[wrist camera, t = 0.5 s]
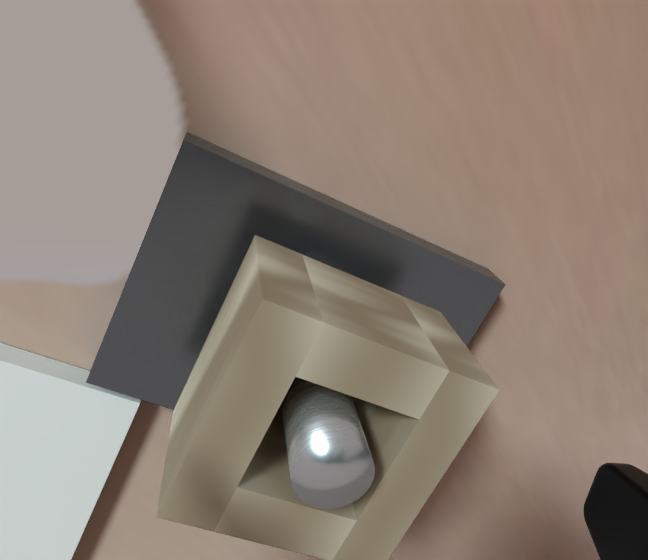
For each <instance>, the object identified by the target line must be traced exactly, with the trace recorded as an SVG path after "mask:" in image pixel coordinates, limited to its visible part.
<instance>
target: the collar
mask: <svg viewBox="0 0 648 560" xmlns="http://www.w3.org/2000/svg"><path fill="white" fill-rule="evenodd" d="M295 377H298V378H301V379H304V380H307V381H309V382H312V383H315V384H318V385H321V386H324V387H327V388H330V389H333V390H335V391H338V392H341V393H344V394H347V395H350V396H352V399H353V402H354V405H355V408H356V411H357V414H358V417H359V420H360V423H361V426H362V429H363V432H364V435H365V438H366V441H367V444H368V447H369V450H370V453H371V456H372V459H373V462H374V466H375V475H374V479H373V482H372V484H371V486H370V487H369V489H368V490H367V491H366V493H365V494H364V495H363V496H361V497H360V498H359V499H358V500H356V501H354V502H353V503H351V504H348V505H346V506H343V507H339V508H333V509H322V508H316V507H313V506H310V505H308V504H306V503H304V502H303V501H302V500H300V499H299V498H298V497H297V495H296V494H295V492H294V491H293V488H292V485H291V478H290V471H289V463H288V456H287V448H286V440H285V433H284V425H283V418H282V410H281V403H282V401H283V399H284V398H285V396H286V394H287V392H288V390H289V388H290V386H291V384H292V382H293V380H294V379H295ZM498 391H499V388H498V387H497V386H496V385H495V383H494V382H493V381H492V379H491V378H490V377H489V375H488V374H487V373H486V371H485V370H484V369H483V367H482V366H481V365H480V363H479V362H478V361H477V359H476V358H475V357H474V356H473V354H472V353H471V352H470V350H469V349H468V348H467V346H466V345H465V344H464V342H463V341H462V340H461V338H460V337H459V336H458V334H457V333H456V332H455V330H454V329H453V328H452V326H451V325H450V324H449V323H448V321H447V320H446V319H445V317H444V316H443V315H442V313H441V312H439V311H437V310H435V309H432V308H430V307H427V306H425V305H423V304H420V303H418V302H415V301H413V300H411V299H408V298H406V297H403V296H401V295H399V294H396V293H394V292H391V291H389V290H387V289H384V288H382V287H379V286H377V285H375V284H372V283H370V282H367V281H365V280H363V279H360V278H358V277H355V276H353V275H351V274H348V273H346V272H343V271H341V270H339V269H336V268H334V267H331V266H329V265H326V264H324V263H322V262H319V261H317V260H314V259H312V258H310V257H307V256H305V255H302V254H300V253H298V252H295V251H293V250H290V249H288V248H286V247H283V246H281V245H278V244H276V243H274V242H271V241H269V240H266V239H264V238H262V237H259V236H257V235H255V236H254V238H253V240H252V243H251V245H250V247H249V249H248V251H247V253H246V255H245V258H244V260H243V262H242V264H241V266H240V268H239V271H238V273H237V275H236V277H235V279H234V281H233V283H232V286H231V288H230V290H229V292H228V294H227V296H226V299H225V301H224V303H223V305H222V307H221V309H220V311H219V314H218V316H217V318H216V320H215V322H214V324H213V327H212V329H211V331H210V333H209V335H208V337H207V339H206V342H205V344H204V346H203V348H202V350H201V352H200V355H199V357H198V359H197V361H196V363H195V365H194V367H193V370H192V372H191V374H190V376H189V378H188V380H187V383H186V385H185V387H184V389H183V391H182V393H181V395H180V398H179V400H178V402H177V404H176V406H175V408H174V411H173V416H172V422H171V429H170V435H169V441H168V448H167V454H166V460H165V467H164V473H163V479H162V486H161V492H160V499H159V505H158V511H157V517H158V518H162V519H166V520H170V521H174V522H177V523H181V524H185V525H189V526H193V527H197V528H201V529H205V530H209V531H213V532H217V533H221V534H225V535H229V536H233V537H237V538H241V539H245V540H249V541H253V542H257V543H261V544H265V545H269V546H273V547H277V548H281V549H285V550H289V551H293V552H297V553H301V554H305V555H309V556H313V557H317V558H321V559H325V560H388V559H389V557H390V556H391V554H392V553H393V551H394V550H395V548H396V547H397V545H398V544H399V542H400V541H401V539H402V538H403V536H404V535H405V533H406V531H407V530H408V528H409V527H410V525H411V524H412V522H413V521H414V519H415V518H416V516H417V515H418V513H419V512H420V510H421V509H422V507H423V506H424V504H425V503H426V501H427V499H428V498H429V496H430V495H431V493H432V492H433V490H434V489H435V487H436V486H437V484H438V483H439V481H440V480H441V478H442V477H443V475H444V474H445V472H446V471H447V469H448V468H449V466H450V464H451V463H452V461H453V460H454V458H455V457H456V455H457V454H458V452H459V451H460V449H461V448H462V446H463V445H464V443H465V442H466V440H467V439H468V437H469V436H470V434H471V432H472V431H473V429H474V428H475V426H476V425H477V423H478V422H479V420H480V419H481V417H482V416H483V414H484V413H485V411H486V410H487V408H488V407H489V405H490V404H491V402H492V401H493V399H494V397H495V396H496V394H497V393H498Z"/></svg>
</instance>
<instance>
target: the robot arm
mask: <svg viewBox="0 0 648 560" xmlns="http://www.w3.org/2000/svg"><path fill="white" fill-rule="evenodd" d="M584 518H585V522H586V524H587V527H588V529H589V532H590V534H591V537H592V539H593V542H594V544H595V547H596V549H597V552H598V554H599V556H600V559H601V560H648V474H647V473H645V472H643V471H641V470H640V469H638V468H636V467H634V466H632V465H629V464H621V463H605V464H603V465H602V466H601V467H600V468H599V469H598V471H597V473H596V476H595V478H594V481H593V483H592V486H591V488H590V491H589V493H588V496H587V498H586V501H585V504H584Z"/></svg>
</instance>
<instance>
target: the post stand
mask: <svg viewBox="0 0 648 560" xmlns="http://www.w3.org/2000/svg"><path fill="white" fill-rule="evenodd" d="M255 235H257V236H259V237H262V238H264V239H266V240H269V241H271V242H274V243H276V244H278V245H281V246H283V247H286V248H288V249H290V250H293V251H295V252H298V253H300V254H302V255H305V256H307V257H310V258H312V259H314V260H317V261H319V262H322V263H324V264H326V265H329V266H331V267H334V268H336V269H339V270H341V271H343V272H346V273H348V274H351V275H353V276H355V277H358V278H360V279H363V280H365V281H367V282H370V283H372V284H375V285H377V286H379V287H382V288H384V289H387V290H389V291H391V292H394V293H396V294H399V295H401V296H403V297H406V298H408V299H411V300H413V301H415V302H418V303H420V304H423V305H425V306H427V307H430V308H432V309H435V310H437V311H439V312H441V313H442V315H443V316H444V317H445V319H446V320H447V321H448V323H449V324H450V325H451V326H452V328H453V329H454V330H455V332H456V333H457V334H458V336H459V337H460V338H461V340H462V341H463V342H464V344H465V345H466V346H468V344H469V342H470V341H471V339H472V337H473V336H474V334H475V333H476V331H477V329H478V328H479V326H480V325H481V323H482V321H483V320H484V318H485V317H486V315H487V313H488V312H489V310H490V308H491V307H492V305H493V304H494V302H495V300H496V299H497V297H498V296H499V294H500V292H501V291H502V289H503V288H504V286H505V284H504V283H503V282H502V281H501V280H500V279H499V278H498V277H497V276H496V275H494V274H493V273H492V272H491V271H490V270H489V269H487V268H485V267H483V266H480V265H478V264H476V263H474V262H472V261H469V260H467V259H465V258H463V257H461V256H458V255H456V254H454V253H452V252H450V251H447V250H445V249H443V248H441V247H439V246H436V245H434V244H432V243H430V242H428V241H425V240H423V239H421V238H419V237H417V236H414V235H412V234H410V233H408V232H406V231H403V230H401V229H399V228H397V227H395V226H392V225H390V224H388V223H386V222H384V221H381V220H379V219H377V218H375V217H373V216H370V215H368V214H366V213H364V212H362V211H359V210H357V209H355V208H353V207H351V206H348V205H346V204H344V203H342V202H340V201H337V200H335V199H333V198H331V197H329V196H326V195H324V194H322V193H320V192H318V191H315V190H313V189H311V188H309V187H307V186H304V185H302V184H300V183H298V182H296V181H293V180H291V179H289V178H287V177H285V176H282V175H280V174H278V173H276V172H274V171H271V170H269V169H267V168H265V167H263V166H260V165H258V164H256V163H254V162H251V161H249V160H247V159H245V158H243V157H240V156H238V155H236V154H234V153H232V152H229V151H227V150H225V149H223V148H221V147H218V146H216V145H214V144H212V143H210V142H207V141H205V140H203V139H201V138H199V137H196V136H194V135H192V134H190V133H188V132H187V134H186V136H185V138H184V140H183V143H182V145H181V148H180V150H179V153H178V155H177V158H176V160H175V163H174V165H173V168H172V170H171V173H170V175H169V178H168V180H167V183H166V185H165V188H164V190H163V192H162V195H161V198H160V200H159V203H158V205H157V208H156V210H155V212H154V215H153V217H152V220H151V222H150V225H149V228H148V230H147V232H146V235H145V237H144V240H143V242H142V245H141V247H140V250H139V252H138V254H137V257H136V259H135V262H134V264H133V267H132V269H131V272H130V274H129V277H128V279H127V282H126V284H125V287H124V289H123V292H122V294H121V297H120V299H119V302H118V304H117V307H116V309H115V311H114V314H113V316H112V319H111V321H110V324H109V326H108V329H107V331H106V334H105V336H104V339H103V341H102V344H101V346H100V349H99V351H98V354H97V356H96V359H95V361H94V364H93V366H92V369H91V371H90V373H89V376H88V378H87V381H86V383H89V384H92V385H95V386H99V387H102V388H105V389H108V390H112V391H115V392H118V393H121V394H125V395H128V396H131V397H134V398H138V399H141V400H144V401H147V402H150V403H154V404H157V405H160V406H163V407H167V408H170V409H173V410H174V408H175V406H176V404H177V402H178V400H179V398H180V395H181V393H182V391H183V389H184V387H185V385H186V383H187V380H188V378H189V376H190V374H191V372H192V370H193V367H194V365H195V363H196V361H197V359H198V357H199V355H200V352H201V350H202V348H203V346H204V344H205V342H206V339H207V337H208V335H209V333H210V331H211V329H212V327H213V324H214V322H215V320H216V318H217V316H218V314H219V311H220V309H221V307H222V305H223V303H224V301H225V299H226V296H227V294H228V292H229V290H230V288H231V286H232V283H233V281H234V279H235V277H236V275H237V273H238V271H239V268H240V266H241V264H242V262H243V260H244V258H245V255H246V253H247V251H248V249H249V247H250V245H251V243H252V240H253V238H254V236H255ZM281 410H282V418H283V425H284V433H285V440H286V448H287V456H288V463H289V471H290V478H291V485H292V488H293V491H294V492H295V494H296V495H297V497H298V498H299V499H300V500H302V501H303V502H304V503H306V504H308V505H310V506H313V507H316V508H322V509H333V508H339V507H343V506H346V505H348V504H351V503H353V502H354V501H356V500H358V499H359V498H360V497H361V496H363V495H364V494H365V493H366V491H367V490H368V489H369V487H370V486H371V484H372V482H373V479H374V475H375V466H374V462H373V459H372V456H371V453H370V450H369V447H368V444H367V441H366V438H365V435H364V432H363V429H362V426H361V423H360V420H359V417H358V414H357V411H356V408H355V405H354V402H353V399H352V396H350V395H347V394H344V393H341V392H338V391H335V390H333V389H330V388H327V387H324V386H321V385H318V384H315V383H312V382H309V381H307V380H304V379H301V378H298V377H295V379H294V380H293V382H292V384H291V386H290V388H289V390H288V392H287V394H286V396H285V398H284V399H283V401H282V403H281Z"/></svg>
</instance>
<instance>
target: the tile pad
mask: <svg viewBox="0 0 648 560" xmlns="http://www.w3.org/2000/svg"><path fill="white" fill-rule="evenodd" d="M89 373H90V371H88V370H85V369H81V368H78V367H75V366H72V365H69V364H66V363H62V362H59V361H56V360H53V359H50V358H47V357H43V356H40V355H37V354H34V353H31V352H28V351H24V350H21V349H18V348H15V347H12V346H8V345H5V344H2V343H0V560H71V559H72V556H73V554H74V552H75V550H76V547H77V545H78V543H79V541H80V538H81V536H82V534H83V532H84V529H85V527H86V525H87V523H88V520H89V518H90V516H91V513H92V511H93V509H94V507H95V504H96V502H97V500H98V498H99V495H100V493H101V491H102V489H103V486H104V484H105V482H106V479H107V477H108V475H109V473H110V470H111V468H112V466H113V464H114V461H115V459H116V457H117V455H118V452H119V450H120V448H121V446H122V443H123V441H124V439H125V436H126V434H127V432H128V430H129V427H130V425H131V423H132V421H133V418H134V416H135V414H136V412H137V409H138V407H139V405H140V402H141V399H138V398H134V397H131V396H128V395H125V394H121V393H118V392H115V391H112V390H108V389H105V388H102V387H99V386H95V385H92V384H89V383H86V381H87V378H88V376H89Z"/></svg>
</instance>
